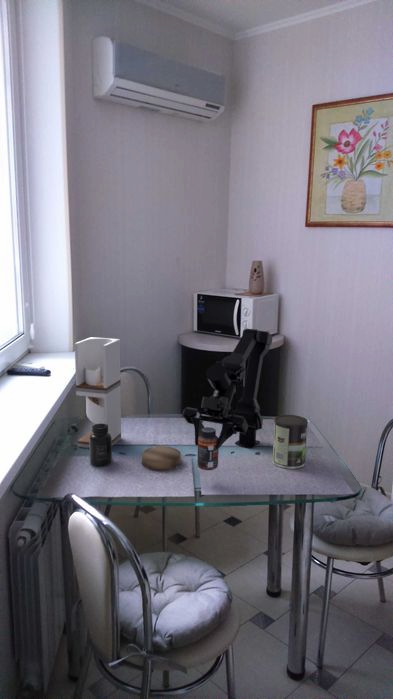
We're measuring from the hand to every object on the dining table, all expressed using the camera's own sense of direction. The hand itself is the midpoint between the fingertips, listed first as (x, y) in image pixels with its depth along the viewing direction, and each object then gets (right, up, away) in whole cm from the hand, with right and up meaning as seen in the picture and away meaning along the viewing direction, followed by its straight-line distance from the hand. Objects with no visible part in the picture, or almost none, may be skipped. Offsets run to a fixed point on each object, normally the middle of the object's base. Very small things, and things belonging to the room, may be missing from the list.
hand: (206, 446), depth 154 cm
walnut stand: (-14, -8, +16) cm, 23 cm away
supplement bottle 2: (+1, -6, +3) cm, 7 cm away
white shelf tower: (-35, -4, +32) cm, 48 cm away
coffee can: (+26, -8, +18) cm, 33 cm away
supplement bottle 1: (-32, -8, +16) cm, 37 cm away
